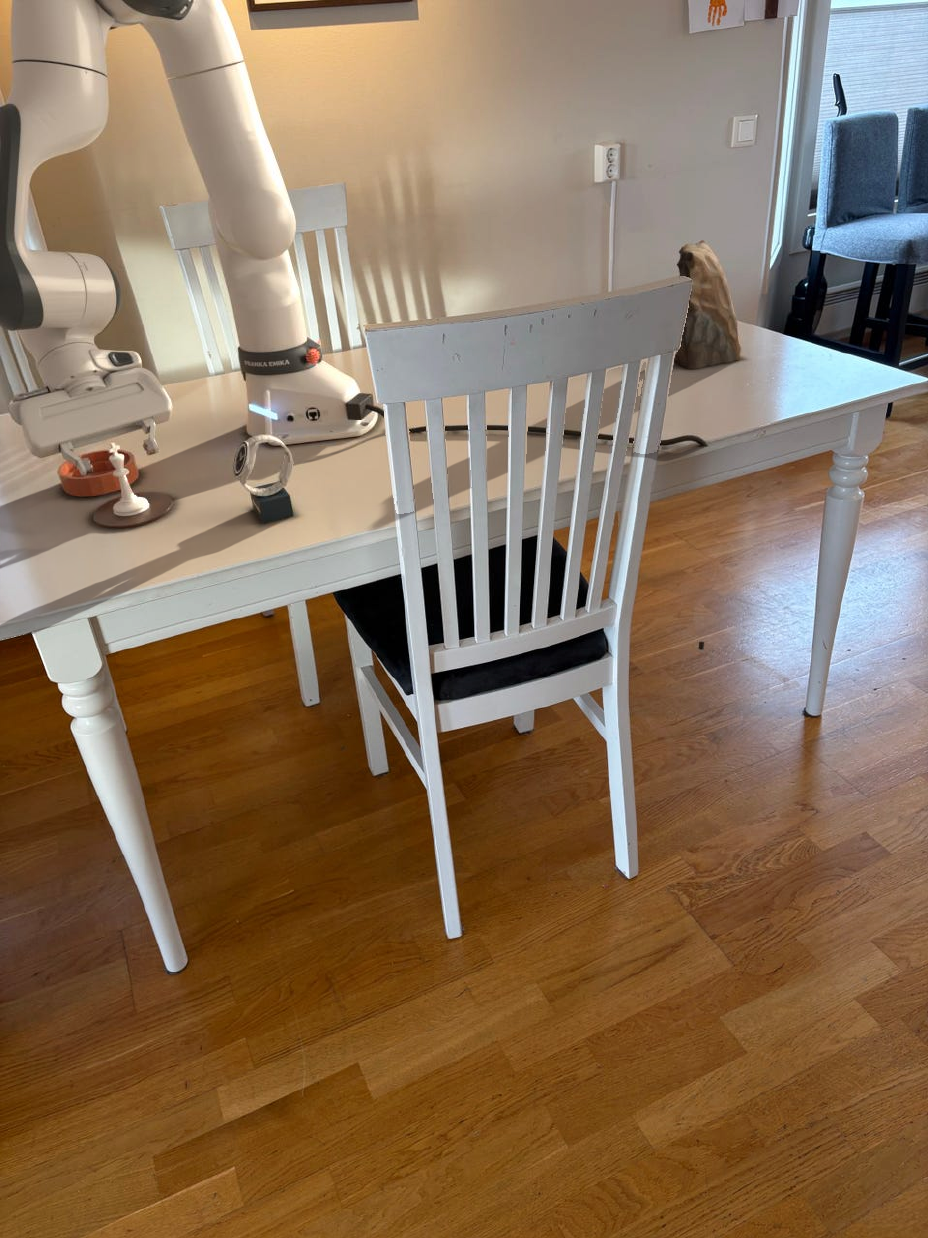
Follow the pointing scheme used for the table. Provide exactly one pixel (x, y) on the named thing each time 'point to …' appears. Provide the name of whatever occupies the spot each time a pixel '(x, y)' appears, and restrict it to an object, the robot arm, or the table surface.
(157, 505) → the coaster
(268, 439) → the watch
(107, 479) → the dish
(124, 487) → the chess piece
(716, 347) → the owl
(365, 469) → the table surface
